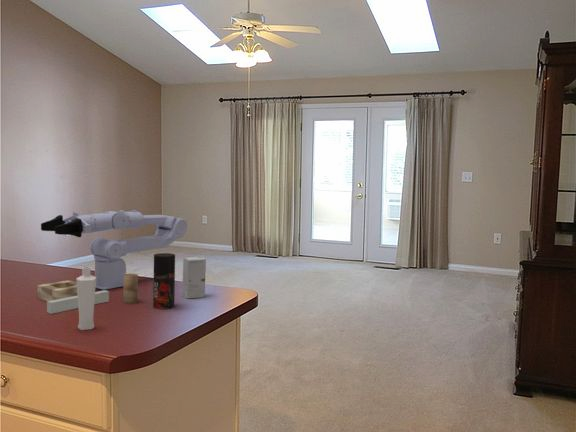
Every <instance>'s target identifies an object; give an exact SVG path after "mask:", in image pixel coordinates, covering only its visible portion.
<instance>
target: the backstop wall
mask: <svg viewBox="0 0 576 432" xmlns="http://www.w3.org/2000/svg"><path fill="white" fill-rule="evenodd" d="M109 301H110V291H109V290H107V289H106V290H100V291H95V301H94V306H95V305H98V304H103V303H104V304H105V303H107V302H109ZM75 309H76V310H77V309H78V296H73V297H68V298H63V299H58V300H52V301H47V302H46V313H47V314H50V315H51V314H52V315H53V314H57V313H63V312H66V311H71V310H75Z"/></svg>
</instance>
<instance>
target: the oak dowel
mask: <svg viewBox="0 0 576 432" xmlns="http://www.w3.org/2000/svg"><path fill="white" fill-rule="evenodd" d="M138 285H139V275H138V273H126V274H124V286H122V287H123V290H122V293H123V295H122V297H123V300H122V301H123V303H124V304H136V303H138V301H139V299H138V295H139V294H138V293H139V292H138V291H139V289H138V288H139V287H138Z"/></svg>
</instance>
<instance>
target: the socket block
mask: <svg viewBox="0 0 576 432" xmlns="http://www.w3.org/2000/svg"><path fill="white" fill-rule="evenodd" d="M36 287H37V288H36V289H37V292H36V293H37V294H36V295H37V296H36V297H37V298H36V299H37V300H40V301H43V302H46V303H47V301H52V300H58V299H63V298H68V297H73V296H77V282H76V281H72V280H70V279H69V280H68V279H67V280H62V281H56V282H49V283H43V284H37V286H36Z"/></svg>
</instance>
